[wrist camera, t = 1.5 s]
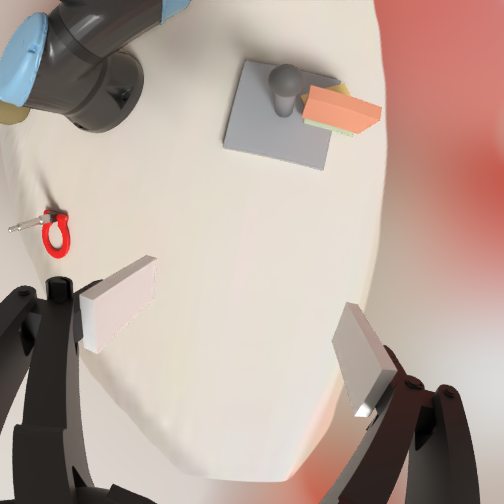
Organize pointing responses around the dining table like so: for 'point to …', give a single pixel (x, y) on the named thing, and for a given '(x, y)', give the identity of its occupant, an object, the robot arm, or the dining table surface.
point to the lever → (320, 102)
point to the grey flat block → (278, 120)
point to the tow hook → (47, 222)
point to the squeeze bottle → (12, 113)
